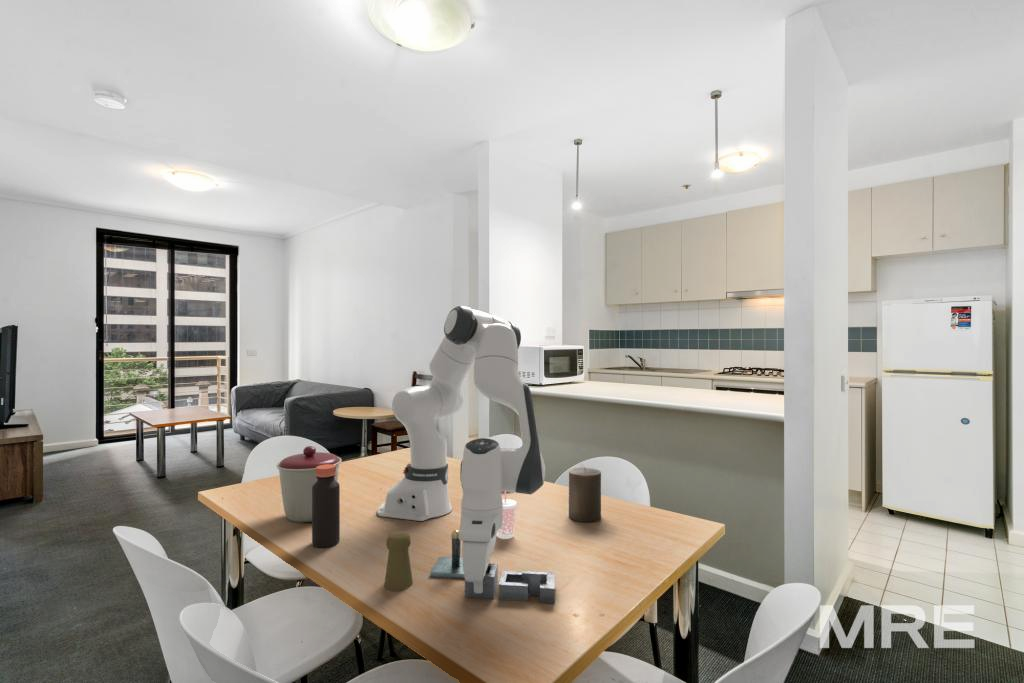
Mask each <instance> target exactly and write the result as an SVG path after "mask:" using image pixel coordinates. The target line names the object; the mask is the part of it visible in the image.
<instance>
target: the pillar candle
mask: <svg viewBox="0 0 1024 683" xmlns="http://www.w3.org/2000/svg"><path fill="white" fill-rule="evenodd" d="M568 517H569V518H570V519H571V520H573V521H576V522H582V523H594V522H598V521H600V520H601V518H602V472H601V471H600V470H599V469H596V468H591V467H590V468H589V467H576V468H571V469H568Z"/></svg>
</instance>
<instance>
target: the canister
mask: <svg viewBox="0 0 1024 683" xmlns="http://www.w3.org/2000/svg"><path fill="white" fill-rule="evenodd" d="M341 463H342V458H341V457H339V456H338V455H336V454H334V453H330V452H320V451H319V452H317V448H316V447H315V446H312V445H308V446H306V447H304V448H303V451H302V453H298V454H294V455H290V456H287V457H285V458H283V459H282V460H280V461H279V462H277V464H276V468H277V469H278V472H279V480H280V481H279V482H280V489H281V490H280V491H281V498H282V505H283V510H284V514H285V516H286V519H288V520H289V521H291V522H295V523H310V522H311V523H312V486H313V485H314V484H315V483H316V482H317V478H316V467H317V466H320V465H326V464H332V465H335V466H336V474H335V475H336V476H335V477H334V479H335V480H336V481H337V482H338V479H339V470H340V464H341Z"/></svg>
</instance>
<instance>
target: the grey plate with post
mask: <svg viewBox="0 0 1024 683" xmlns="http://www.w3.org/2000/svg"><path fill="white" fill-rule="evenodd" d="M459 531H460V529H459V530H458V529H453V531H452V532H451V535H450V536H451V556H439V557H437V558H438V559H437V560H436V561H435V563H434V565H433V567H432V569H431V570H430V572H429V573H430V574H429V575H430V578H431V577H433V578H435V577H436V578H450V579H452V578H453V579H465V577H464V572H463V558H462V557H461V545H462V544H461V540H459Z"/></svg>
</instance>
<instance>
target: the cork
mask: <svg viewBox="0 0 1024 683" xmlns="http://www.w3.org/2000/svg"><path fill="white" fill-rule="evenodd" d="M385 542H386V543H385V545H386V548H387V549H388V553H387V554H388V555H387V562H386V571H385V578H384V588H385V589H386V590H388V591H391V592H392V591H394V592H397V591H399V592H400V591H403V590H407V589H409V588H410V587H411V586H413V576H412V574H413V573H412V567H411V560H410V552H409V548H410V546H411V542H412V538H411V535H410V534H409V533H408V532H406V531H394V532H392V533H390V534H389V535H388V536H387V538H386V541H385Z"/></svg>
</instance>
